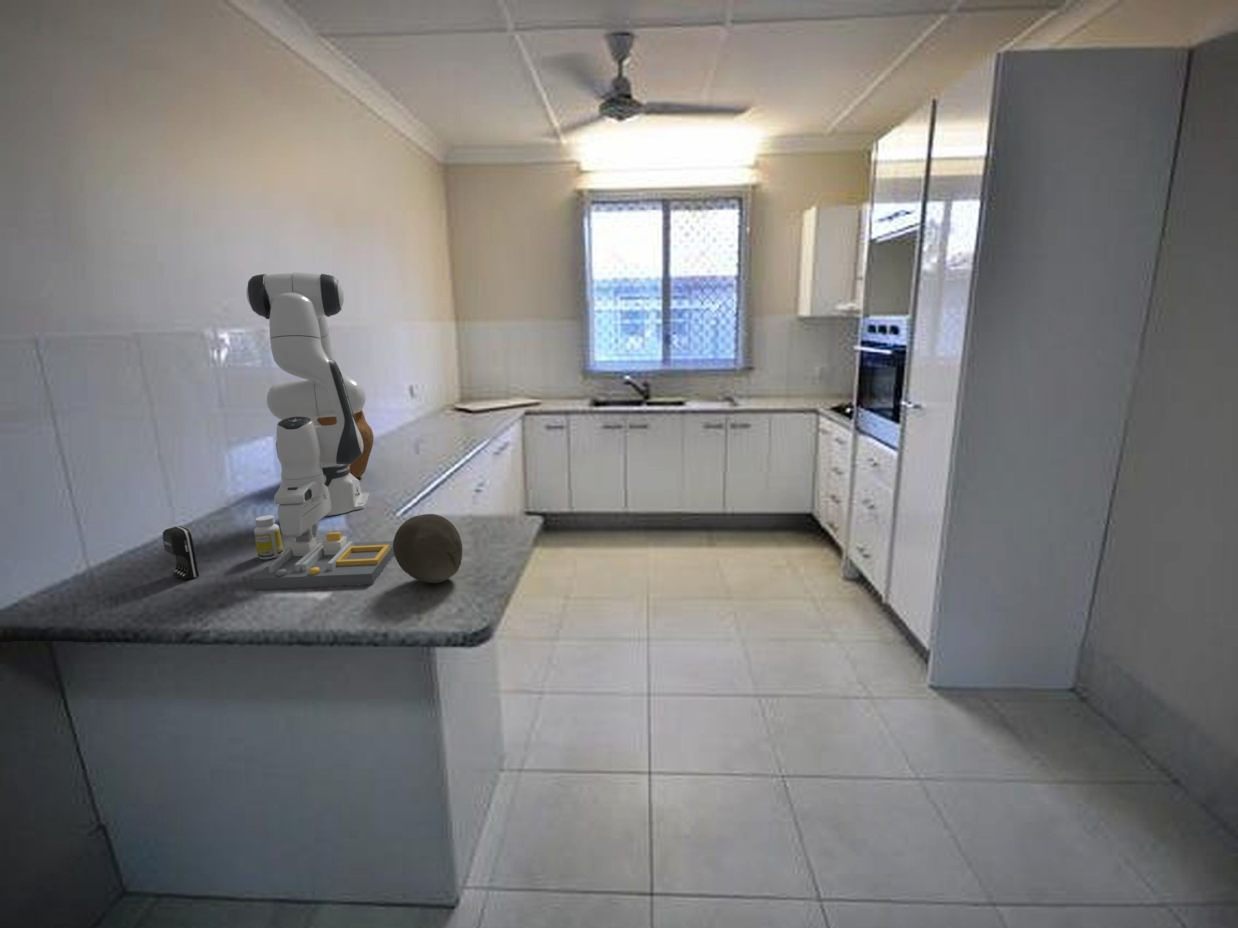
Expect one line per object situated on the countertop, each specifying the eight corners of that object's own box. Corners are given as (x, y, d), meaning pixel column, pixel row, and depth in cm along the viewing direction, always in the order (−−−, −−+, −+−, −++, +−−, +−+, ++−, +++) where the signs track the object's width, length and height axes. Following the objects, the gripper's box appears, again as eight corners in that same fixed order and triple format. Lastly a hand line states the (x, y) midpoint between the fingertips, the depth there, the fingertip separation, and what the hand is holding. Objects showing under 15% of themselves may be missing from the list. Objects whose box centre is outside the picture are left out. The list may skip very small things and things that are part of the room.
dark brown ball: (460, 564, 145) (455, 503, 141) (469, 588, 132) (463, 521, 128) (396, 574, 140) (389, 510, 136) (398, 600, 127) (391, 530, 124)
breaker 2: (330, 548, 149) (328, 530, 148) (347, 548, 149) (345, 529, 148) (324, 555, 145) (321, 536, 144) (341, 554, 145) (339, 535, 144)
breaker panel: (294, 554, 153) (291, 538, 152) (398, 550, 155) (396, 534, 154) (253, 589, 134) (250, 571, 133) (372, 584, 135) (370, 566, 134)
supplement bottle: (277, 550, 156) (271, 512, 154) (287, 554, 153) (281, 516, 151) (254, 556, 152) (248, 518, 150) (263, 561, 149) (257, 522, 147)
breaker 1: (300, 550, 149) (297, 531, 148) (317, 549, 149) (315, 531, 148) (293, 556, 145) (290, 537, 144) (310, 555, 145) (308, 536, 144)
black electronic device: (168, 576, 142) (158, 528, 139) (187, 570, 145) (178, 523, 142) (181, 583, 138) (171, 534, 135) (200, 577, 141) (191, 529, 138)
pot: (389, 471, 234) (381, 391, 227) (357, 488, 211) (346, 400, 204) (328, 470, 237) (318, 391, 230) (290, 488, 213) (277, 400, 206)
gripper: (308, 476, 157) (315, 528, 160) (269, 499, 137) (279, 558, 140) (334, 475, 157) (340, 527, 160) (299, 498, 137) (308, 557, 141)
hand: (311, 542), depth 150 cm, fingers closed
